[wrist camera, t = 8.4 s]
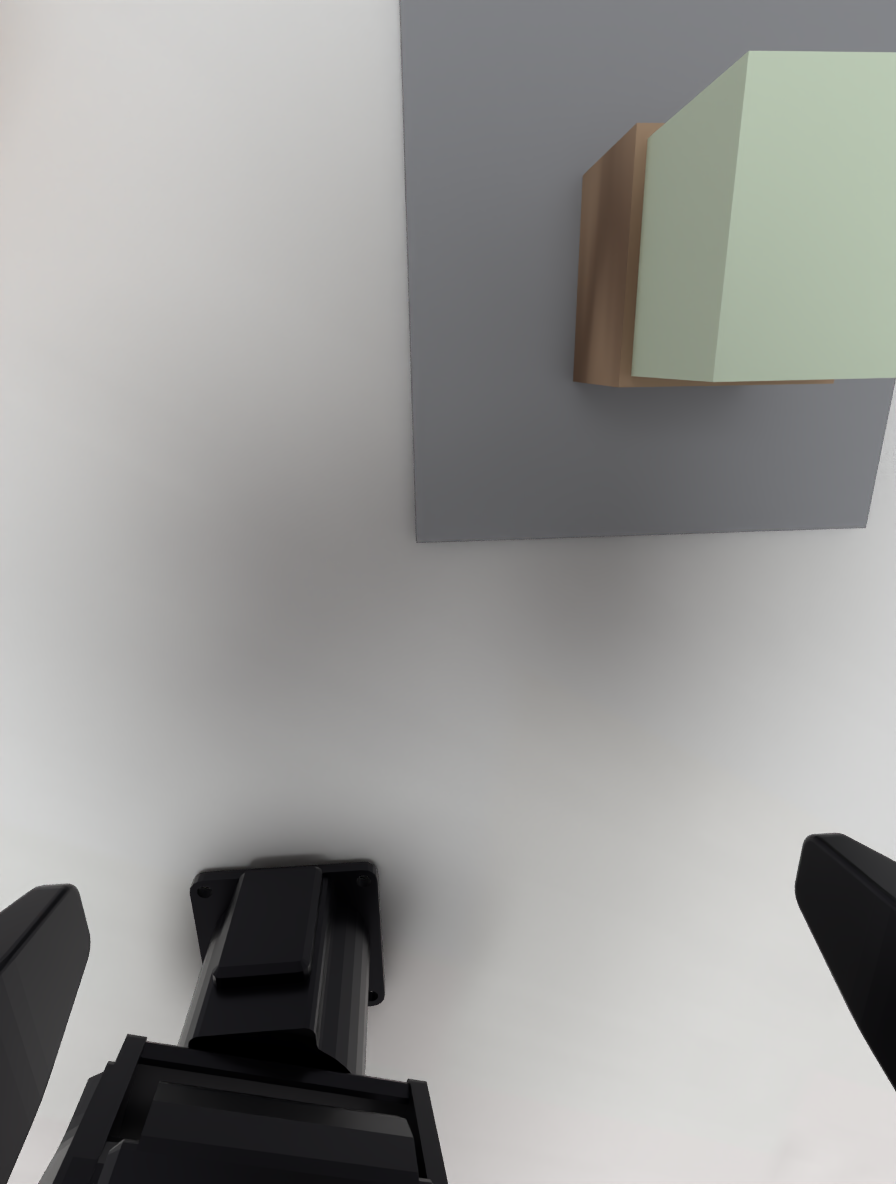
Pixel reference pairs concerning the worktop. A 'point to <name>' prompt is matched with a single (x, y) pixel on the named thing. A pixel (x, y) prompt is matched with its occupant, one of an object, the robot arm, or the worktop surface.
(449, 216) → the slate mat
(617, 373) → the walnut block
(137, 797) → the worktop surface
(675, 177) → the sage block
